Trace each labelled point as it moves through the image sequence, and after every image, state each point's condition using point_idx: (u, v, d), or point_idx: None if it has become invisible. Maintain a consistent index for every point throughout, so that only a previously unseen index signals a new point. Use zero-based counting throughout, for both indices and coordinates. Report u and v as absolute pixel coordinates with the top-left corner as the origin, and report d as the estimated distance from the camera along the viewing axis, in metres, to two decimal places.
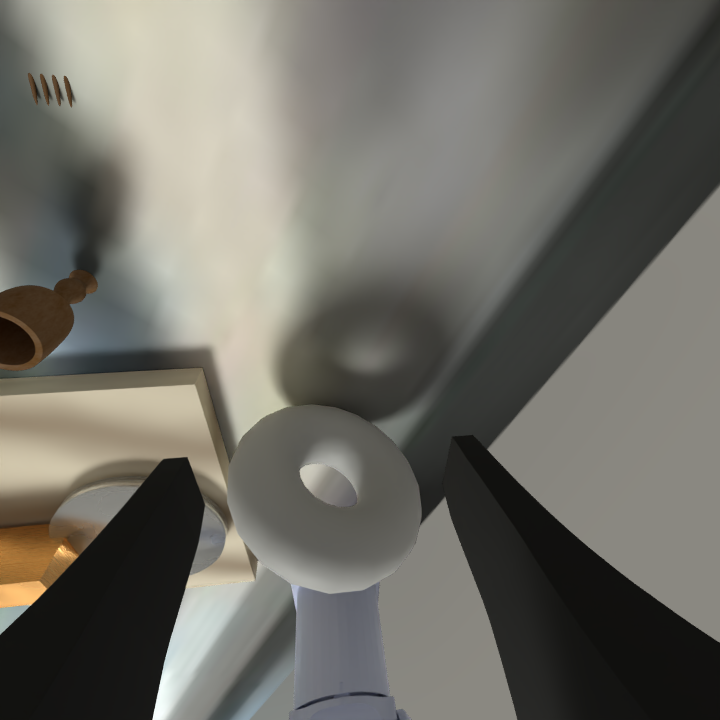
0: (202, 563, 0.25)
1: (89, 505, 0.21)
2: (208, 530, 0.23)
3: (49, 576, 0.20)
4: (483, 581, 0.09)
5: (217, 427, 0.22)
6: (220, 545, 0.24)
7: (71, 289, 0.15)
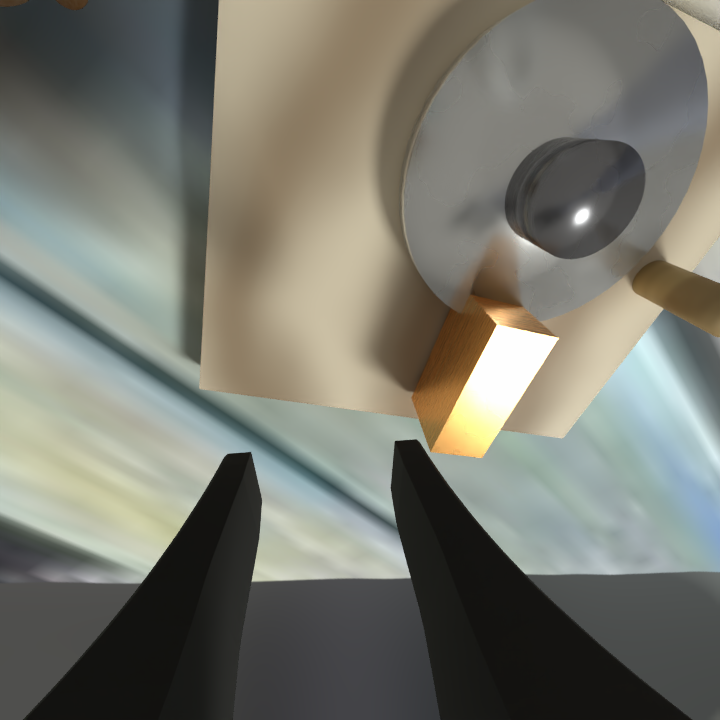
0: (688, 122, 0.11)
1: (427, 211, 0.12)
2: (618, 27, 0.10)
3: (505, 321, 0.12)
4: (418, 589, 0.09)
5: None
6: (678, 34, 0.10)
7: None
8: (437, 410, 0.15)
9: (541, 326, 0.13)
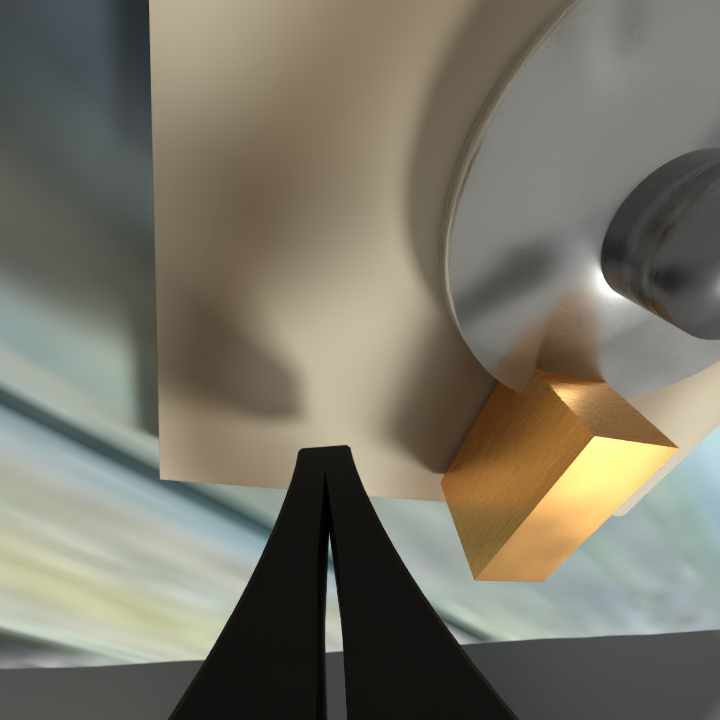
0: None
1: (485, 259, 0.08)
2: None
3: (600, 423, 0.08)
4: (338, 598, 0.08)
5: None
6: None
7: None
8: (485, 524, 0.11)
9: (646, 423, 0.09)
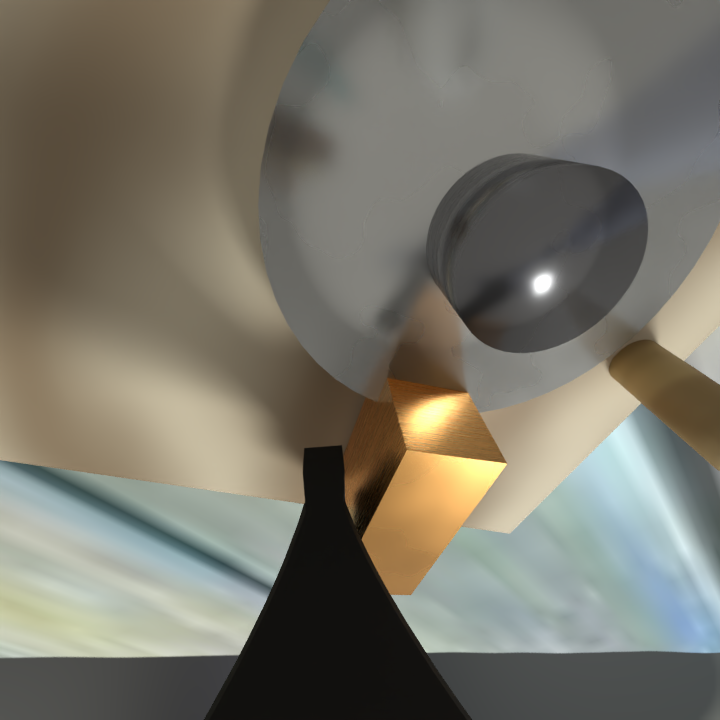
0: None
1: (302, 264, 0.08)
2: None
3: (426, 436, 0.08)
4: None
5: None
6: None
7: None
8: None
9: (485, 437, 0.09)
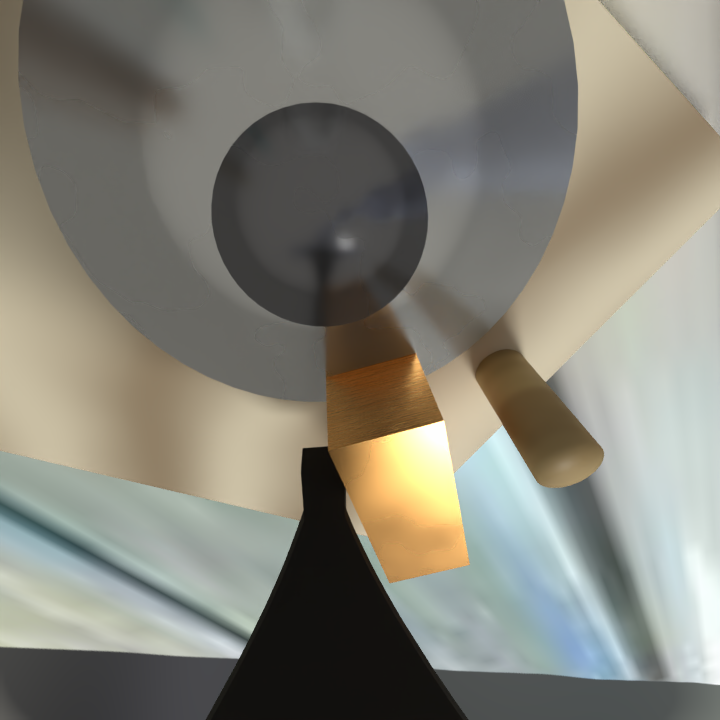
0: None
1: (178, 327, 0.08)
2: None
3: (354, 426, 0.08)
4: None
5: None
6: None
7: None
8: None
9: (424, 398, 0.08)
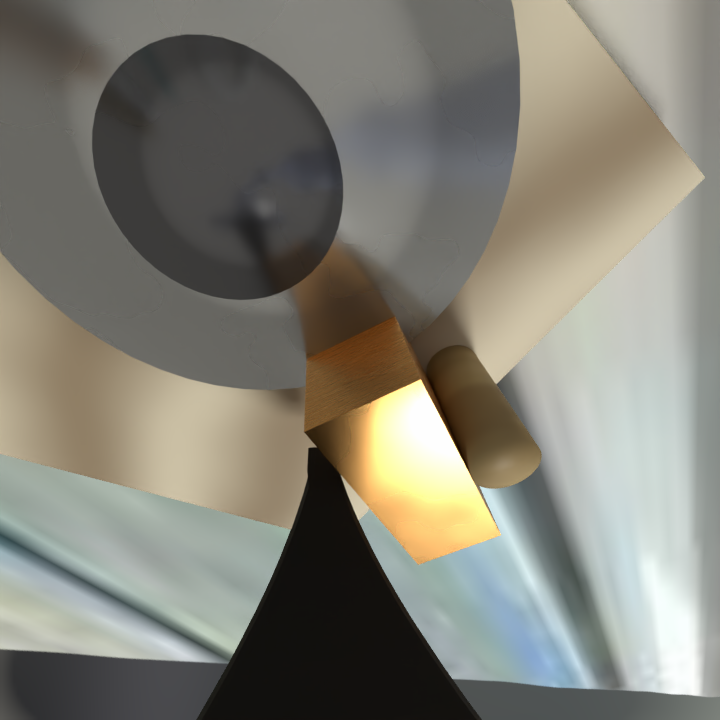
0: None
1: (144, 333, 0.08)
2: None
3: (330, 402, 0.07)
4: None
5: None
6: None
7: None
8: None
9: (401, 360, 0.07)
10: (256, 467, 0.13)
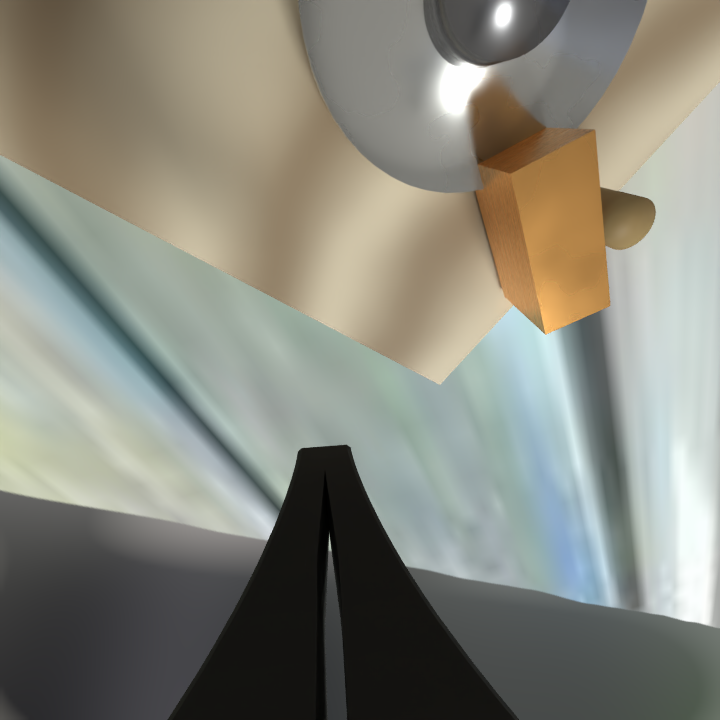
0: None
1: (375, 131, 0.12)
2: None
3: (522, 162, 0.11)
4: (338, 598, 0.08)
5: None
6: None
7: None
8: (526, 292, 0.13)
9: (571, 132, 0.11)
10: (396, 296, 0.16)
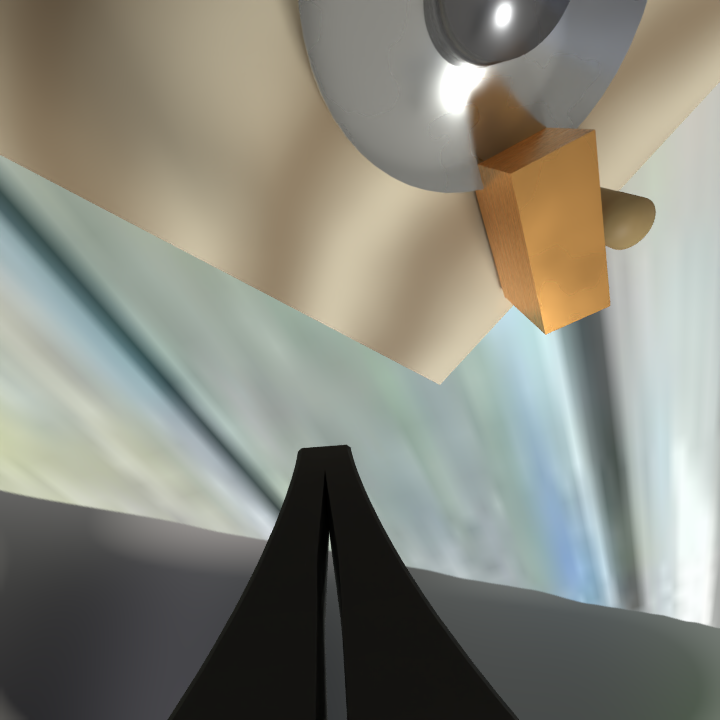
0: None
1: (375, 131, 0.12)
2: None
3: (522, 162, 0.11)
4: (338, 598, 0.08)
5: None
6: None
7: None
8: (526, 292, 0.13)
9: (571, 132, 0.11)
10: (396, 296, 0.16)
